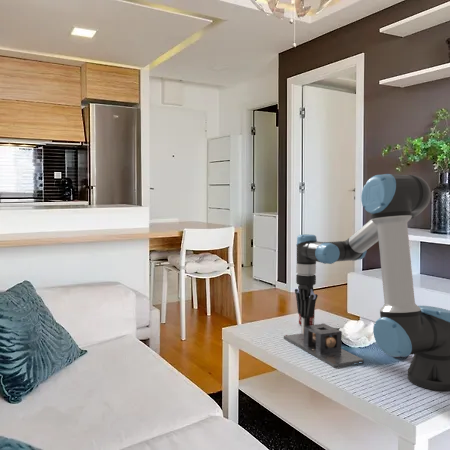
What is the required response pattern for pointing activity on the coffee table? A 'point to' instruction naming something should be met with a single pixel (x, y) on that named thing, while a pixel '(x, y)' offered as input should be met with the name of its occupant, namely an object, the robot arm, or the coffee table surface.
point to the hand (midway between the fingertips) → (305, 333)
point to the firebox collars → (323, 345)
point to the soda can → (310, 319)
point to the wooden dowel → (327, 340)
